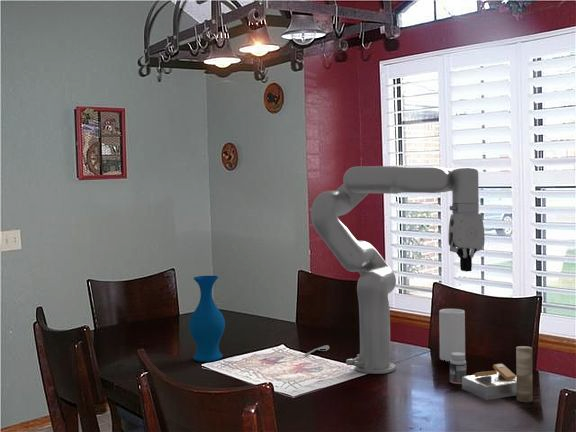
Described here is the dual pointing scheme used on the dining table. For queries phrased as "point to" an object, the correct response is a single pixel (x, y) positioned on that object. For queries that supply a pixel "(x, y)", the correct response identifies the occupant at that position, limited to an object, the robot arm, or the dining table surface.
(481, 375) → the paddle
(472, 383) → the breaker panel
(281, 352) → the dining table surface
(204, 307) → the vase
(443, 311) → the white tall cylinder
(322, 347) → the spoon
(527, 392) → the dowel post
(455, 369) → the pill bottle
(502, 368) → the paddle
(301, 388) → the dining table surface
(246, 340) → the dining table surface
